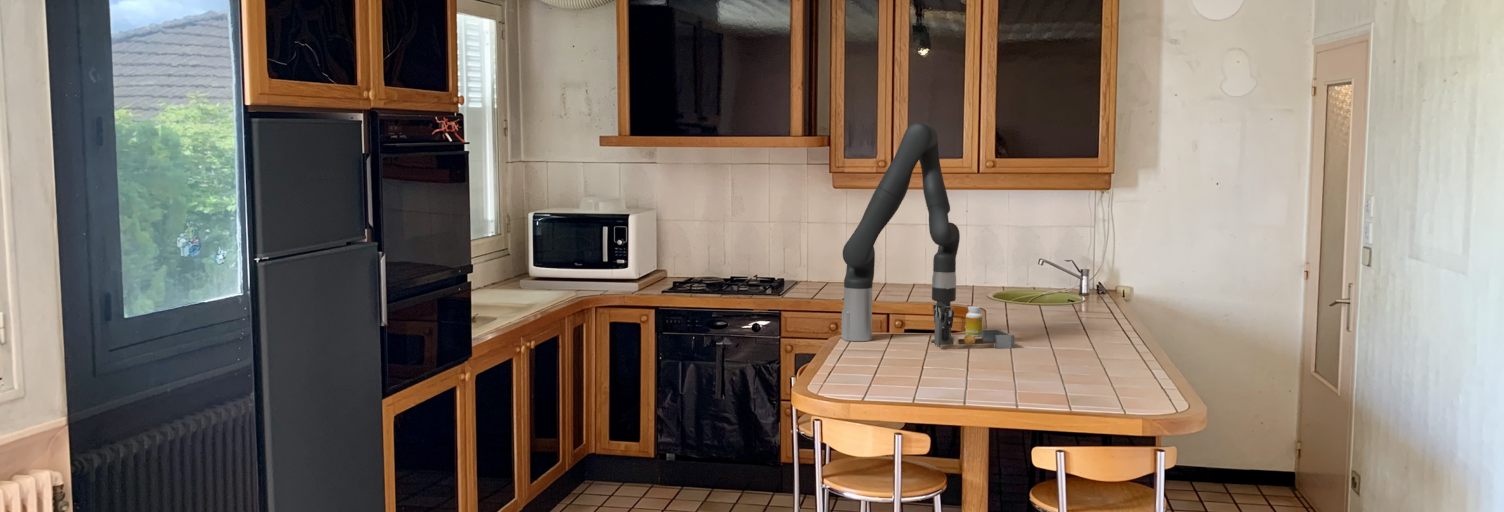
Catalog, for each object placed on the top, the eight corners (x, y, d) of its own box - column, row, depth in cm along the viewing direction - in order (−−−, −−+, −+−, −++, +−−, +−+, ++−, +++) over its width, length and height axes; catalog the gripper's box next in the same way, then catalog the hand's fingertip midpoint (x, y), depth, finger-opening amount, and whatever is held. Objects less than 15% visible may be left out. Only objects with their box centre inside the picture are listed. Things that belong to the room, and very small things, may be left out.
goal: (996, 348, 364) (996, 336, 364) (981, 341, 377) (981, 329, 377) (1014, 348, 365) (1014, 335, 365) (999, 341, 378) (999, 329, 378)
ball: (966, 346, 368) (966, 335, 367) (962, 344, 371) (962, 333, 371) (976, 346, 368) (977, 335, 368) (972, 344, 372) (973, 333, 371)
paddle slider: (940, 347, 364) (940, 319, 364) (932, 343, 371) (933, 316, 370) (958, 347, 365) (959, 319, 365) (950, 343, 372) (951, 315, 371)
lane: (941, 349, 362) (941, 345, 362) (930, 343, 373) (930, 339, 373) (994, 348, 365) (994, 344, 365) (981, 342, 376) (981, 338, 376)
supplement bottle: (981, 337, 386) (982, 308, 385) (965, 336, 387) (965, 307, 386) (981, 334, 391) (982, 306, 390) (965, 334, 392) (966, 305, 391)
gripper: (925, 283, 373) (924, 335, 374) (939, 288, 359) (938, 343, 360) (947, 282, 374) (946, 335, 376) (963, 288, 360) (961, 342, 362)
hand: (942, 339), depth 368 cm, fingers closed on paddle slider, 4 cm apart
